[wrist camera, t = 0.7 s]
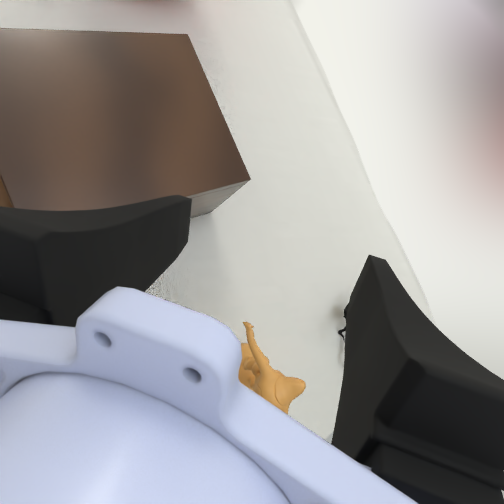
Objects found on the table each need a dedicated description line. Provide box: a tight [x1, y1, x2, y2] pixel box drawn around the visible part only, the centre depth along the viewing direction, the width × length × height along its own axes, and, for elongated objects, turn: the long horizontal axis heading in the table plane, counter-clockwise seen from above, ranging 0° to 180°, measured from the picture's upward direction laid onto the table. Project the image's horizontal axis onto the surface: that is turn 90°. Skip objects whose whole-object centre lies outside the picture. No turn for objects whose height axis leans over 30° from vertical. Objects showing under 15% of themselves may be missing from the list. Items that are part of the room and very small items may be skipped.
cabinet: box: [0, 28, 251, 218], centre depth 26 cm, size 16×13×8 cm
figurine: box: [238, 322, 306, 415], centre depth 25 cm, size 8×6×12 cm
